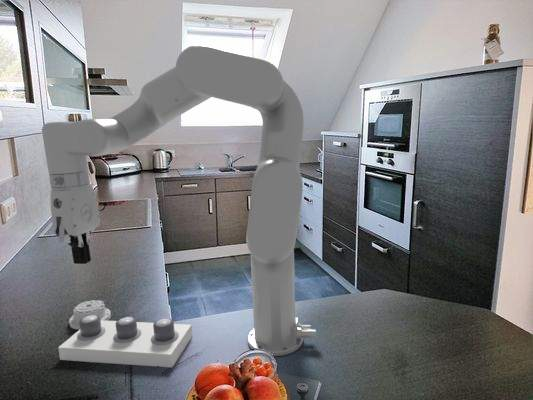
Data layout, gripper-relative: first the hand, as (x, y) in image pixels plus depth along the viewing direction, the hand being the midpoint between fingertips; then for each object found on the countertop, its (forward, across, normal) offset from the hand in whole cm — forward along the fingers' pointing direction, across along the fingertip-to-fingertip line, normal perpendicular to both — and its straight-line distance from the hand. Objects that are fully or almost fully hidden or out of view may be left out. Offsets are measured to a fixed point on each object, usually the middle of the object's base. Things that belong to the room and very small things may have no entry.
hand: (82, 262), depth 85 cm
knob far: (+17, 0, 0) cm, 17 cm away
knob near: (+17, 0, -18) cm, 25 cm away
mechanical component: (+21, +11, +8) cm, 25 cm away
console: (+20, 0, -9) cm, 22 cm away
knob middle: (+17, 0, -9) cm, 19 cm away
